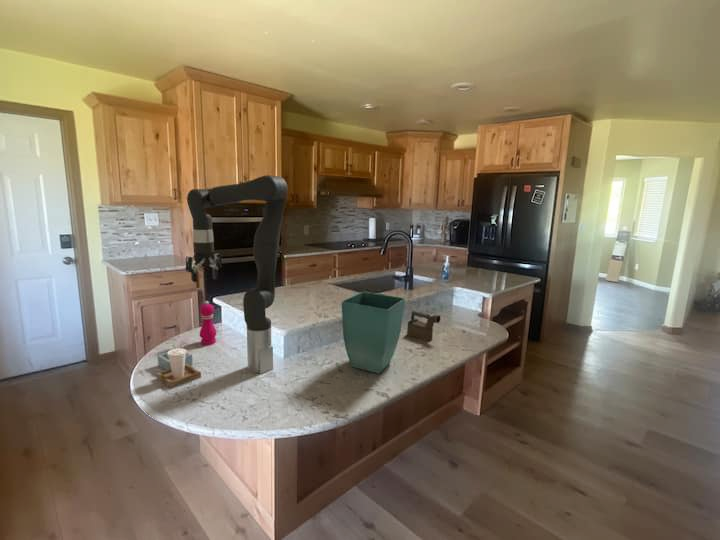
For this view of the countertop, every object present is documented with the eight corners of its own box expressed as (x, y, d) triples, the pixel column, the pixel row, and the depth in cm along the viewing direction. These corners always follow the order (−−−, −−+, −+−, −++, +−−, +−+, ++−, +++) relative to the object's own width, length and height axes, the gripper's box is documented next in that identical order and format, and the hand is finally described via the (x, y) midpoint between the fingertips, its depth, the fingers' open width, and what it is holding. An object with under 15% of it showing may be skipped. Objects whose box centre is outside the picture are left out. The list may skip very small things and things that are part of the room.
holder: (192, 365, 150) (192, 354, 149) (169, 373, 143) (168, 362, 142) (181, 358, 155) (180, 348, 154) (158, 365, 148) (157, 355, 147)
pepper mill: (213, 346, 169) (211, 303, 165) (197, 345, 169) (195, 302, 165) (219, 340, 176) (217, 299, 172) (204, 339, 176) (202, 298, 172)
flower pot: (360, 351, 169) (362, 290, 164) (401, 360, 161) (405, 297, 155) (338, 368, 152) (340, 301, 146) (384, 380, 143) (387, 309, 138)
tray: (201, 377, 140) (200, 372, 140) (171, 388, 132) (171, 383, 131) (186, 368, 147) (185, 363, 146) (157, 378, 138) (156, 373, 138)
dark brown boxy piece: (431, 343, 181) (434, 317, 178) (405, 334, 192) (407, 309, 189) (440, 339, 187) (443, 314, 184) (414, 330, 198) (416, 306, 195)
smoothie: (175, 381, 134) (172, 345, 132) (165, 376, 138) (162, 341, 135) (191, 375, 140) (189, 339, 137) (181, 370, 143) (179, 335, 140)
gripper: (190, 243, 140) (193, 285, 143) (224, 240, 151) (226, 279, 155) (180, 241, 145) (183, 281, 148) (214, 238, 156) (216, 276, 159)
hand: (205, 280), depth 151 cm, fingers open, 8 cm apart
